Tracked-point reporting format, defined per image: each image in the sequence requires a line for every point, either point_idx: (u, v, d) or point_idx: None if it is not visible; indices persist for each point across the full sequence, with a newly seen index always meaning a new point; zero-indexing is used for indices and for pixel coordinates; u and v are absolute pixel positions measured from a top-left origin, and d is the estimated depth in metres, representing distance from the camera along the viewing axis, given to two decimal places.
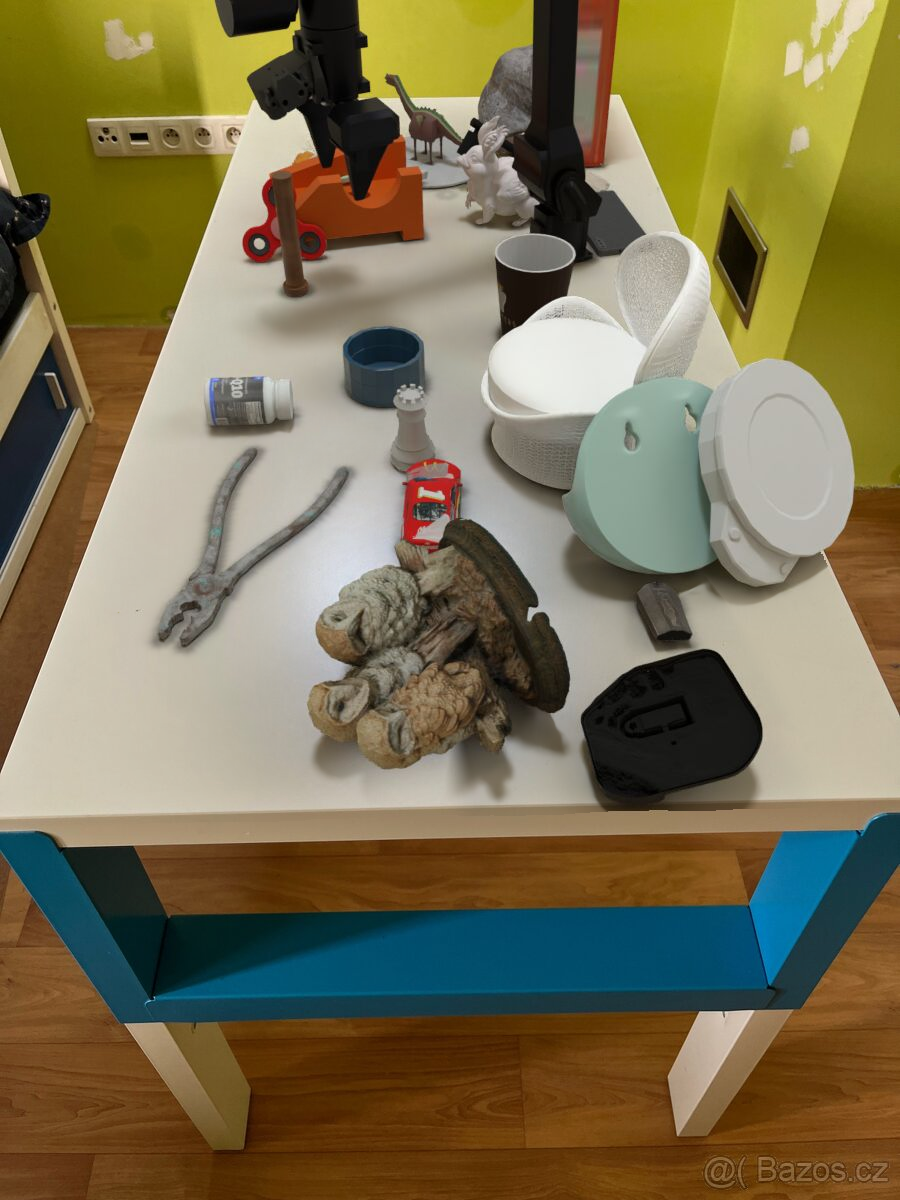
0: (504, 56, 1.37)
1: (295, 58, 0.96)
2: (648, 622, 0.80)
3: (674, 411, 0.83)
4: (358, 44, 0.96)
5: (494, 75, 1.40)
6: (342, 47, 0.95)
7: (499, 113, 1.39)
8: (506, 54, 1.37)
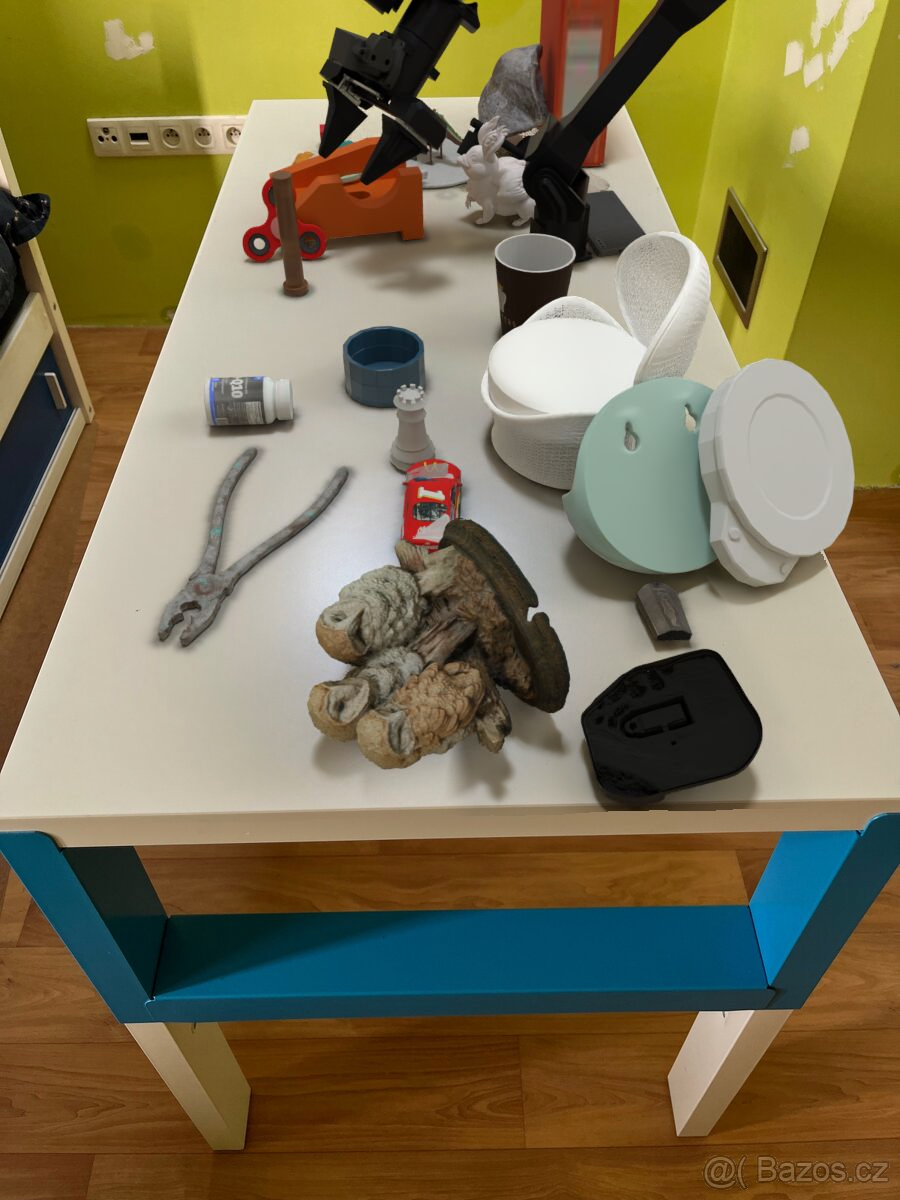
0: (504, 56, 1.37)
1: None
2: (648, 622, 0.80)
3: (674, 411, 0.83)
4: (432, 72, 1.10)
5: (494, 75, 1.40)
6: (424, 63, 1.08)
7: (499, 112, 1.39)
8: (506, 54, 1.37)
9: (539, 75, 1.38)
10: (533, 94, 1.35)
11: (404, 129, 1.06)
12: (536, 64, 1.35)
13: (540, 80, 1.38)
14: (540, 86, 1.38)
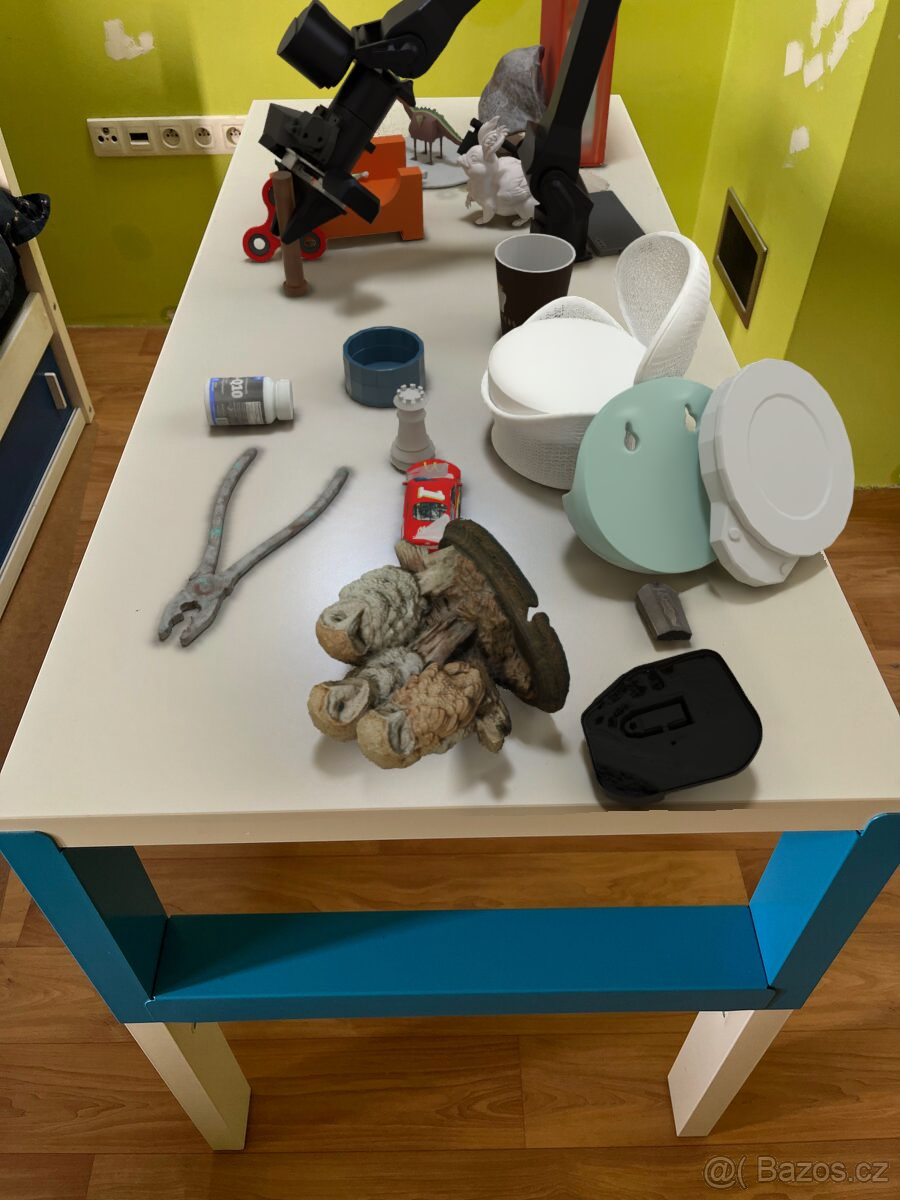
0: (506, 56, 1.38)
1: None
2: (648, 622, 0.80)
3: (674, 411, 0.83)
4: (367, 146, 1.11)
5: (496, 74, 1.40)
6: (359, 137, 1.09)
7: (499, 111, 1.39)
8: (508, 54, 1.38)
9: (540, 76, 1.38)
10: (534, 94, 1.35)
11: (321, 194, 1.08)
12: (538, 64, 1.35)
13: (541, 81, 1.39)
14: (541, 87, 1.39)
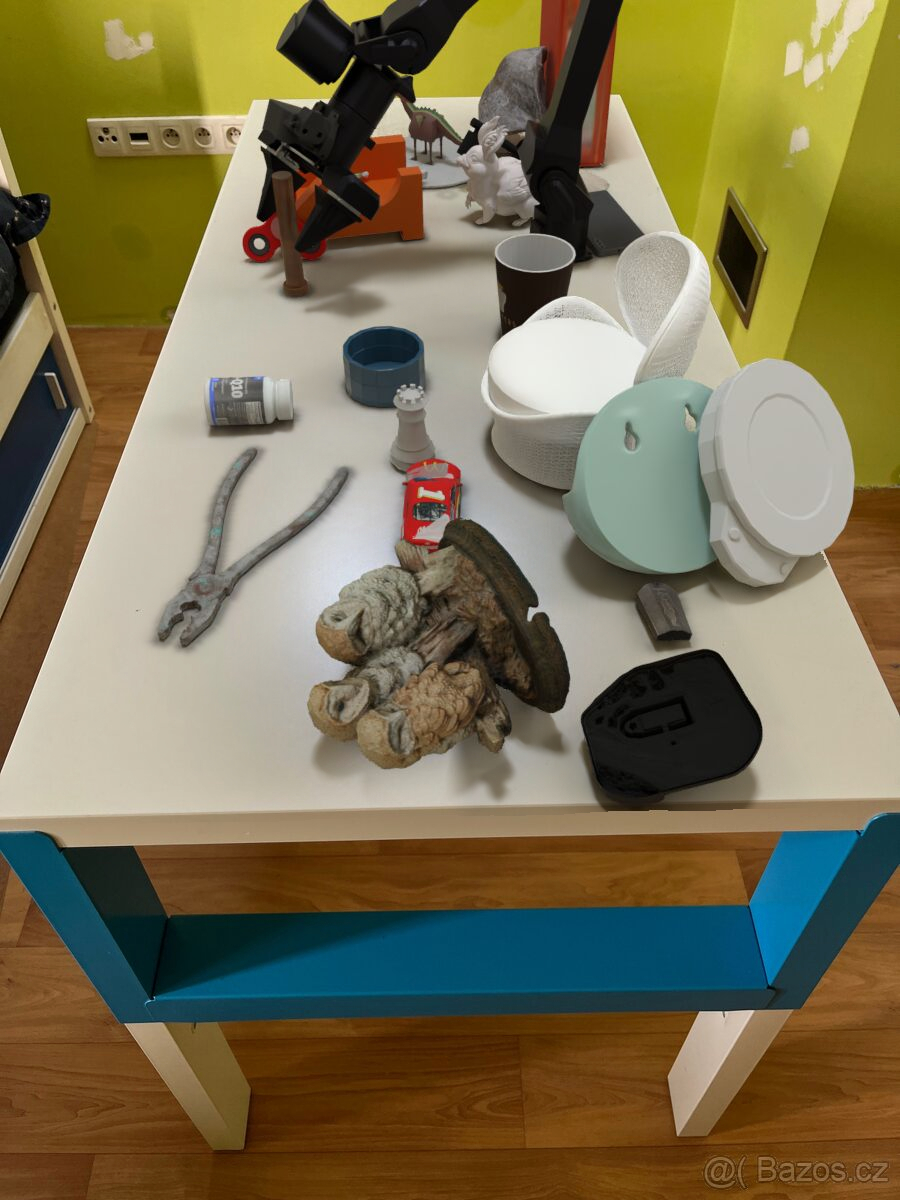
0: (509, 55, 1.38)
1: None
2: (648, 622, 0.80)
3: (674, 411, 0.83)
4: (367, 142, 1.11)
5: (498, 74, 1.40)
6: (358, 134, 1.09)
7: (500, 110, 1.39)
8: (511, 54, 1.38)
9: (542, 78, 1.39)
10: (535, 94, 1.35)
11: (336, 201, 1.06)
12: (540, 65, 1.35)
13: (543, 83, 1.39)
14: (542, 89, 1.39)
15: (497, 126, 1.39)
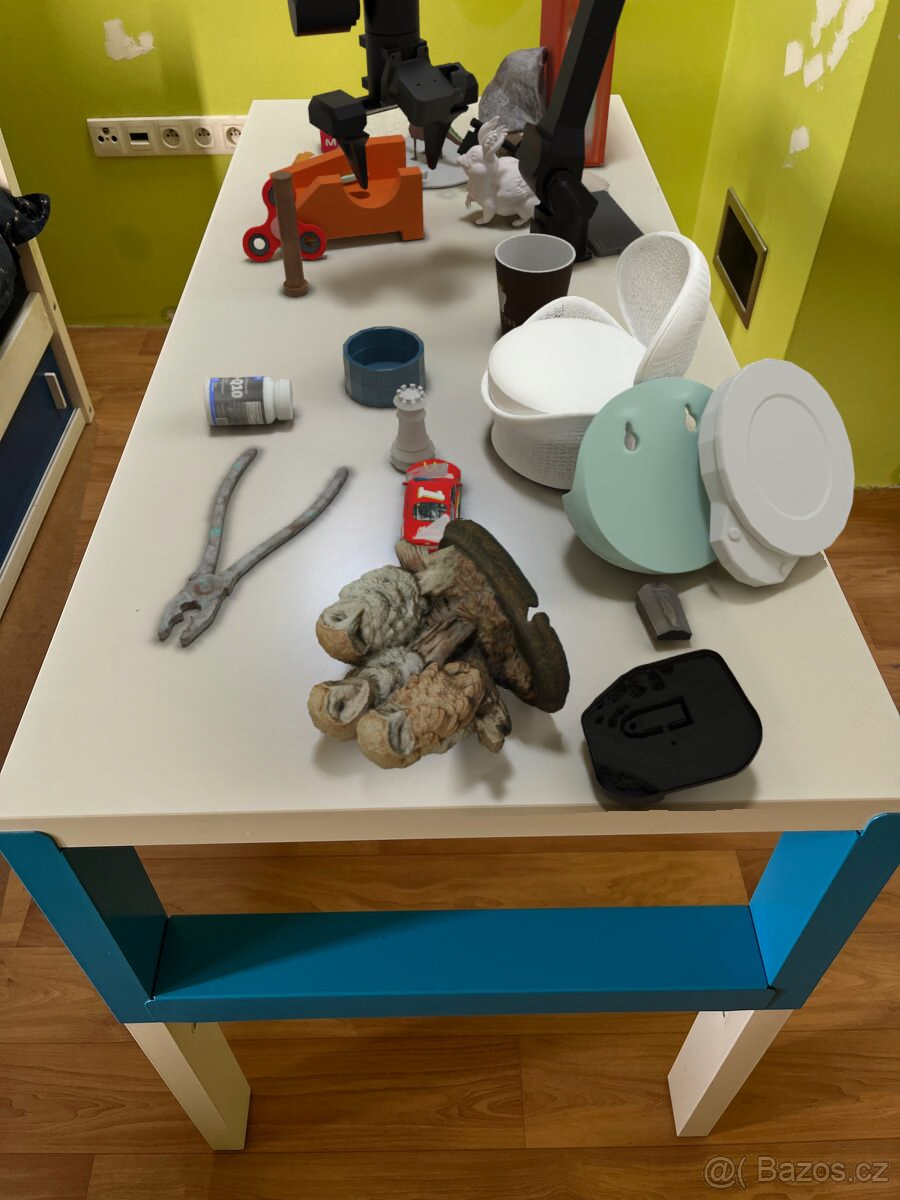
0: (510, 55, 1.38)
1: (413, 66, 1.02)
2: (648, 622, 0.80)
3: (674, 411, 0.83)
4: None
5: (498, 74, 1.40)
6: None
7: (500, 110, 1.39)
8: (512, 54, 1.38)
9: (542, 78, 1.39)
10: (536, 94, 1.35)
11: None
12: (541, 65, 1.35)
13: (543, 83, 1.39)
14: (543, 89, 1.39)
15: (497, 126, 1.39)
